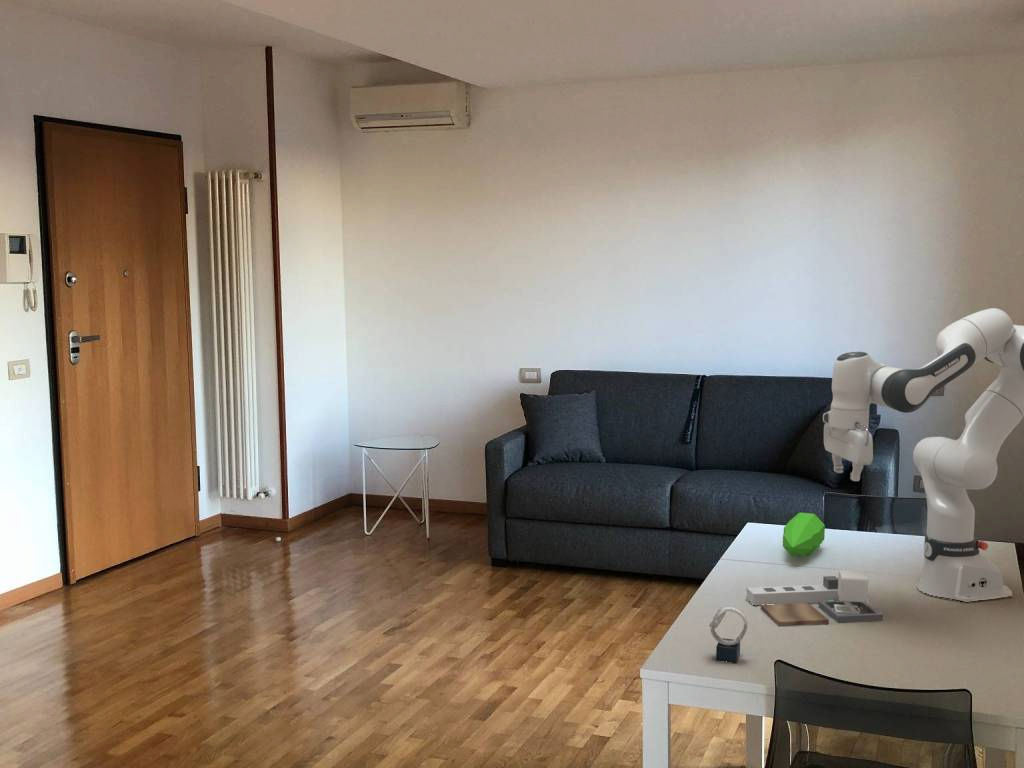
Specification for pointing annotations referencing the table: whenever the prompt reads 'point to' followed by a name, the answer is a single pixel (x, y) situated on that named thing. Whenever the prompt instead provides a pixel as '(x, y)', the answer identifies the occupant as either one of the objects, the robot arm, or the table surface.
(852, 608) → the security camera
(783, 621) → the walnut pad
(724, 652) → the watch
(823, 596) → the power strip
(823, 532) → the green faceted elongated piece
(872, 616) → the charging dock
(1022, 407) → the robot arm
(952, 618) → the table surface
